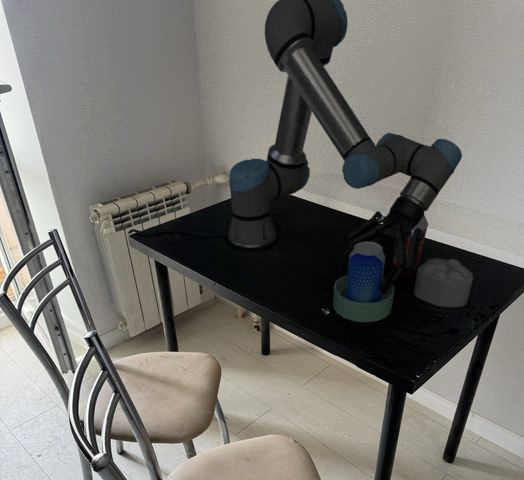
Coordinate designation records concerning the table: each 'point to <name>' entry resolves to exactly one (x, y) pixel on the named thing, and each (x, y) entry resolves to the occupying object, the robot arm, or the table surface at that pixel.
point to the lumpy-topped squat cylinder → (443, 283)
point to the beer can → (365, 273)
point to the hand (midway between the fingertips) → (360, 280)
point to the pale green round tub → (361, 304)
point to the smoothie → (423, 226)
